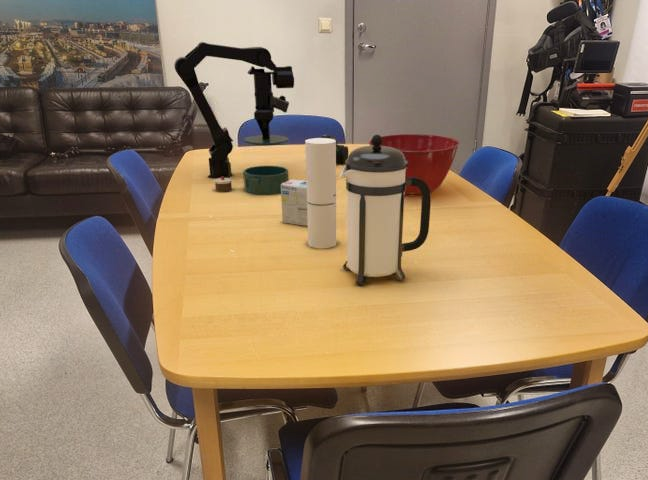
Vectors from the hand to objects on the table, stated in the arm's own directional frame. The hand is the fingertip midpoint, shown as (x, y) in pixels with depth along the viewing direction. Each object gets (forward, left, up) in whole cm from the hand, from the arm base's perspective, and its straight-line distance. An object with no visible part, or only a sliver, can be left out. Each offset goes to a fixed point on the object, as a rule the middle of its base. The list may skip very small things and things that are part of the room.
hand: (265, 137), depth 218 cm
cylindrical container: (+41, -68, -12) cm, 80 cm away
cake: (-5, -26, -12) cm, 29 cm away
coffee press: (+59, -84, -12) cm, 103 cm away
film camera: (+18, +22, -12) cm, 31 cm away
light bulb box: (+31, -52, -12) cm, 61 cm away
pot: (+8, -21, -12) cm, 25 cm away
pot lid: (0, 0, -1) cm, 1 cm away
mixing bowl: (+54, -10, -12) cm, 56 cm away
